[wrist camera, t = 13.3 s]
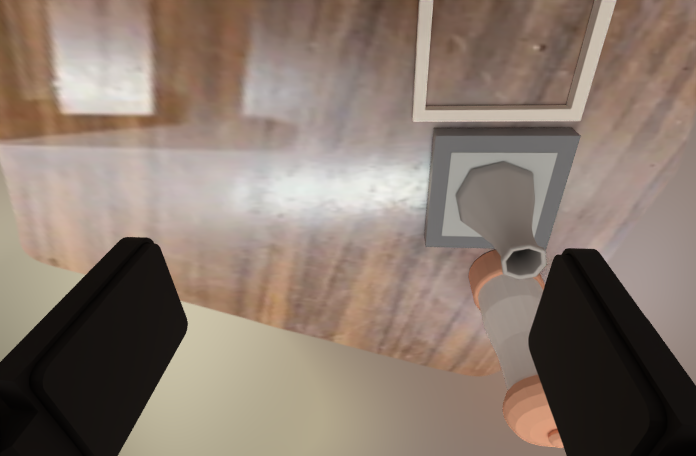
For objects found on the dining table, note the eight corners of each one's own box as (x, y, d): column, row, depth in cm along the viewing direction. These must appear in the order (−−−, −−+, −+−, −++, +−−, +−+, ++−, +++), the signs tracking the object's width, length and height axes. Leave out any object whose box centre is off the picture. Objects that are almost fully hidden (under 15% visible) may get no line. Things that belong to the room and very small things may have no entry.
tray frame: (423, -79, 28) (424, -80, 27) (634, -90, 26) (643, -92, 25) (412, 117, 35) (412, 121, 34) (574, 116, 34) (580, 120, 33)
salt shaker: (480, 242, 42) (533, 409, 27) (547, 254, 42) (639, 427, 27) (460, 291, 46) (495, 460, 31) (520, 301, 46) (587, 476, 31)
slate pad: (433, 128, 36) (435, 136, 34) (571, 127, 35) (581, 136, 33) (424, 235, 43) (425, 247, 41) (539, 238, 41) (546, 250, 40)
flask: (545, 162, 35) (594, 225, 26) (523, 230, 39) (560, 303, 30) (462, 158, 35) (483, 218, 27) (449, 225, 39) (464, 296, 31)
